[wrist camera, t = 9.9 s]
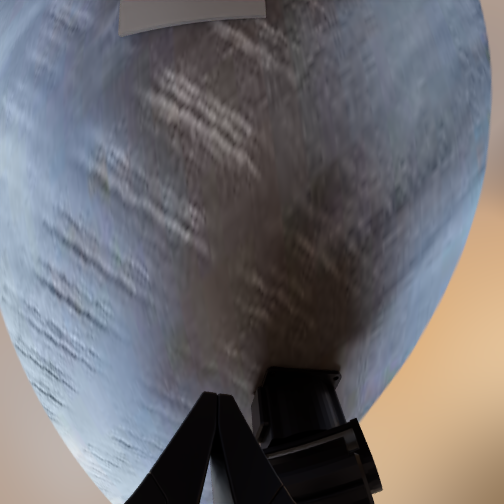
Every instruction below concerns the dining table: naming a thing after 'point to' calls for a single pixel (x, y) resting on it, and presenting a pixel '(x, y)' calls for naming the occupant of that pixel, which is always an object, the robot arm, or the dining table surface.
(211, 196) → the dining table surface
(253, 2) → the charcoal mat
